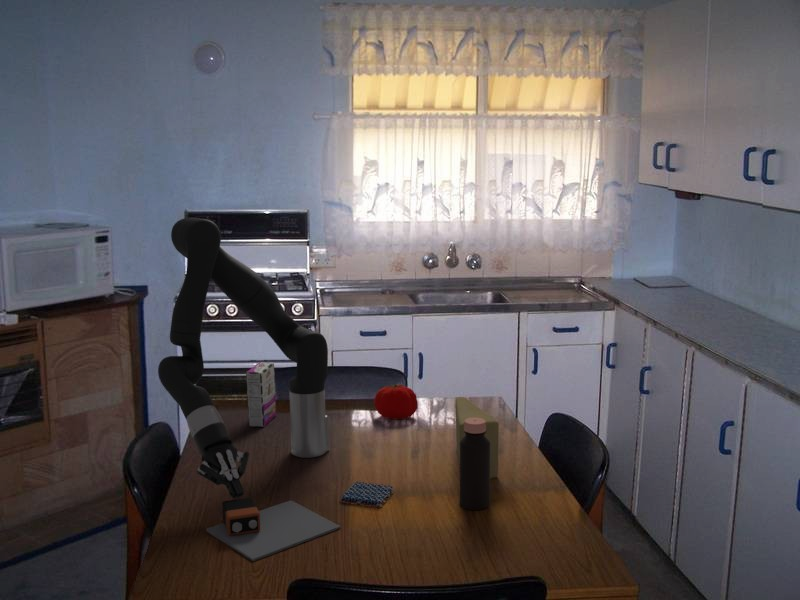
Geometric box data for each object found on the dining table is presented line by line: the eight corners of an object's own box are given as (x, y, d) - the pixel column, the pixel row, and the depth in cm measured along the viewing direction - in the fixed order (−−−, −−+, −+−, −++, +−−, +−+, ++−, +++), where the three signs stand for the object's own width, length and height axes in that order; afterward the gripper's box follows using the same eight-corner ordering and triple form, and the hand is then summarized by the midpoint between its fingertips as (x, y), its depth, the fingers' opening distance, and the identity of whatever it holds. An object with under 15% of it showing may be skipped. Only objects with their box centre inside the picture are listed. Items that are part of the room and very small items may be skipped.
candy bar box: (261, 414, 271) (258, 361, 267) (277, 415, 270) (275, 362, 266) (247, 426, 260) (245, 371, 257) (264, 427, 259) (261, 372, 256)
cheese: (441, 449, 241) (441, 395, 238) (476, 447, 242) (477, 393, 239) (460, 481, 219) (460, 422, 216) (499, 478, 221) (499, 420, 218)
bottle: (469, 513, 201) (470, 427, 197) (453, 502, 207) (454, 418, 203) (495, 507, 204) (496, 422, 200) (479, 496, 210) (479, 414, 206)
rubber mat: (291, 502, 208) (290, 500, 208) (340, 528, 194) (340, 526, 194) (206, 531, 194) (205, 528, 194) (252, 561, 180) (252, 559, 180)
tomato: (417, 423, 262) (417, 389, 260) (373, 423, 262) (373, 389, 260) (417, 411, 273) (417, 378, 271) (375, 411, 273) (374, 378, 271)
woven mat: (396, 492, 214) (396, 484, 214) (381, 510, 204) (381, 502, 204) (355, 487, 217) (354, 479, 217) (338, 505, 207) (338, 496, 207)
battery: (221, 500, 197) (228, 519, 188) (252, 496, 199) (260, 514, 190) (222, 519, 198) (229, 538, 189) (253, 514, 200) (261, 533, 191)
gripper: (187, 428, 199) (218, 497, 192) (239, 415, 208) (270, 481, 201) (176, 445, 204) (207, 513, 197) (228, 431, 213) (258, 496, 206)
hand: (239, 496), depth 199 cm, fingers closed
